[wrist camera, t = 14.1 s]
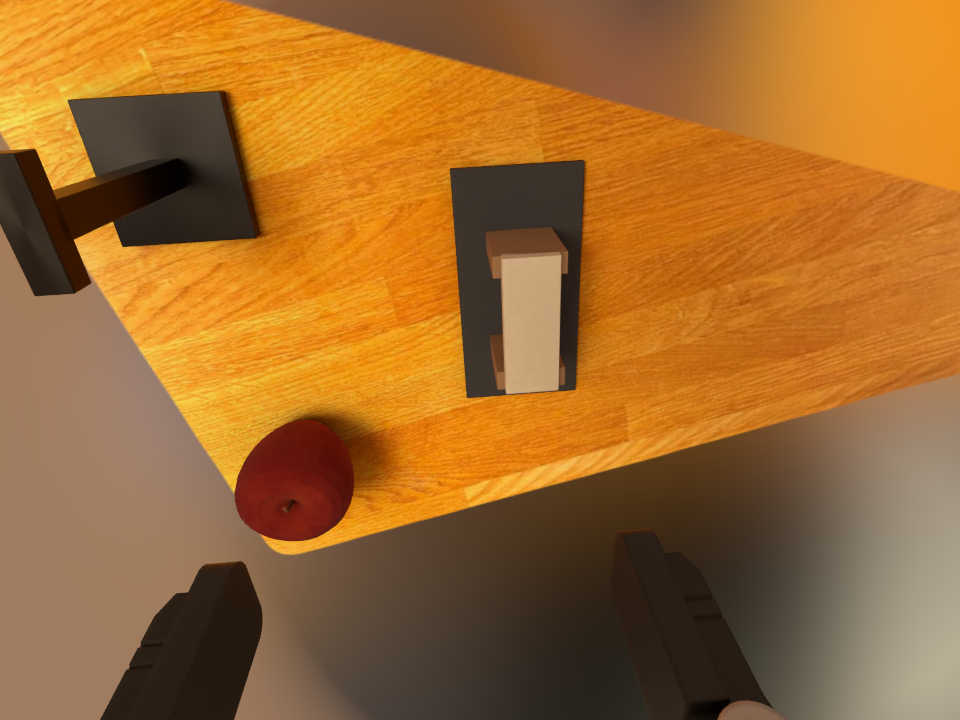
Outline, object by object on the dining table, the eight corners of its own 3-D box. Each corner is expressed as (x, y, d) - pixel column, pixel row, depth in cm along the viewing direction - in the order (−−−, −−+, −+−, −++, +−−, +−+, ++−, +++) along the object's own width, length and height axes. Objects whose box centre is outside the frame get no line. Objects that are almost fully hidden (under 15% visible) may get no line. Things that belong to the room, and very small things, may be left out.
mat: (449, 168, 40) (450, 169, 40) (582, 159, 41) (584, 161, 40) (466, 394, 50) (466, 398, 49) (574, 386, 50) (575, 390, 50)
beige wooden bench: (485, 230, 42) (492, 259, 36) (551, 226, 42) (570, 254, 36) (490, 351, 47) (498, 395, 41) (549, 346, 47) (566, 390, 41)
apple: (375, 470, 53) (361, 550, 45) (281, 488, 54) (250, 571, 45) (345, 391, 49) (324, 462, 40) (243, 411, 49) (200, 486, 40)
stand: (75, 99, 37) (-152, 119, 23) (224, 90, 37) (91, 104, 23) (129, 243, 41) (-32, 333, 27) (260, 234, 42) (168, 319, 28)
